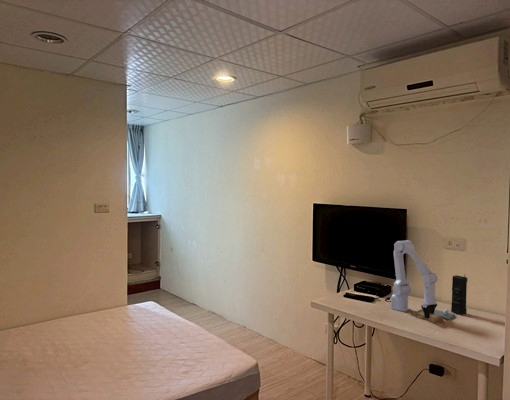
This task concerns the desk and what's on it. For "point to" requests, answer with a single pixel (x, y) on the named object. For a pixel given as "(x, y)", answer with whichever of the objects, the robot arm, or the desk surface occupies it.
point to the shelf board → (432, 317)
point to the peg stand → (443, 314)
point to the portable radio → (459, 295)
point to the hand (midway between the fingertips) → (429, 316)
